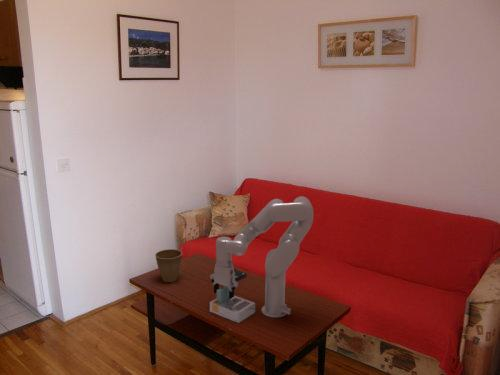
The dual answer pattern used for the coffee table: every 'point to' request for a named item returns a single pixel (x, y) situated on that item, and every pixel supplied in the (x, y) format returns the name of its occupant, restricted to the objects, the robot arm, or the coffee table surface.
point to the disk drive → (239, 275)
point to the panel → (222, 294)
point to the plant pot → (169, 264)
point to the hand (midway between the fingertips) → (223, 295)
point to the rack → (233, 309)
